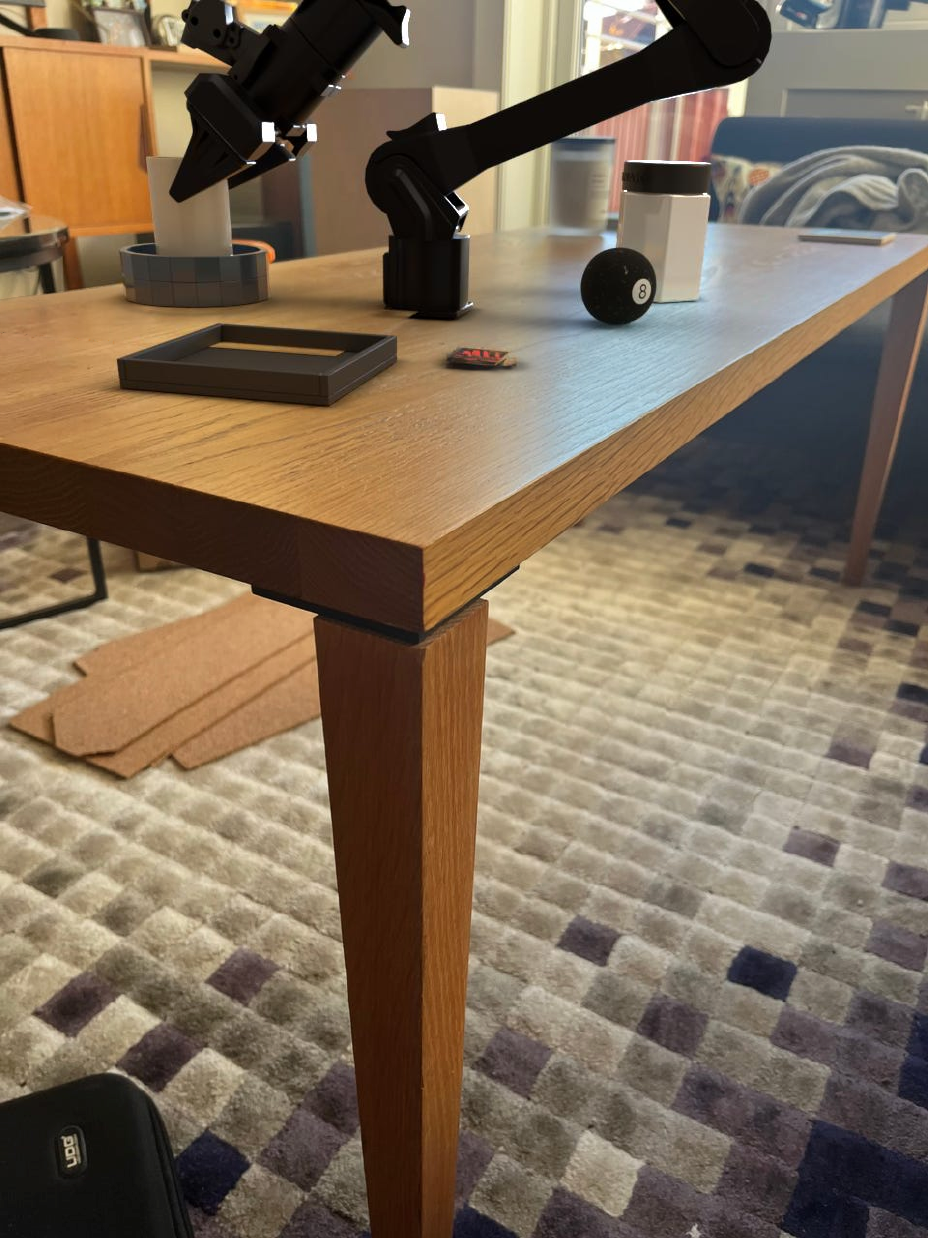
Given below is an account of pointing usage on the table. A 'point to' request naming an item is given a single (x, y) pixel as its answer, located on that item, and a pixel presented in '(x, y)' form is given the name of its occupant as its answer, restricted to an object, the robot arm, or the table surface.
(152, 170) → the cup
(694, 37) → the robot arm
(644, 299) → the billiard ball
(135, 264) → the bowl
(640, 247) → the jar
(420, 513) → the table surface
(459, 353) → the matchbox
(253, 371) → the tray
